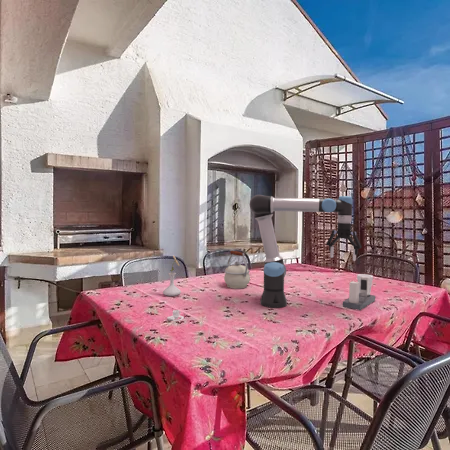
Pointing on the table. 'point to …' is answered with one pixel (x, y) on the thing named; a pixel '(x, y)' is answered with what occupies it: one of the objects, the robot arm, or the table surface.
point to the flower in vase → (172, 283)
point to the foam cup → (365, 276)
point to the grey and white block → (361, 296)
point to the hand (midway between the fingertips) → (342, 258)
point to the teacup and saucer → (175, 316)
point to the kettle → (237, 273)
